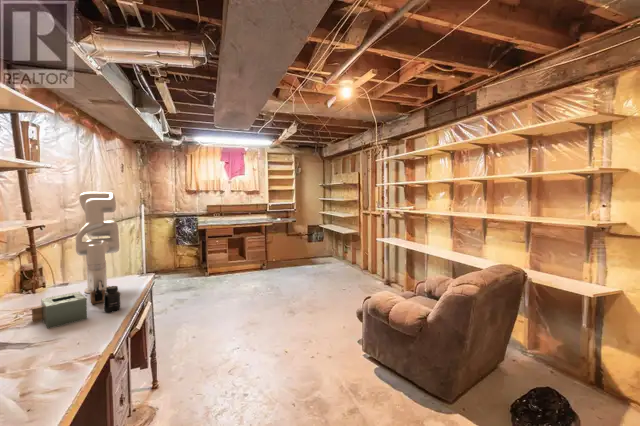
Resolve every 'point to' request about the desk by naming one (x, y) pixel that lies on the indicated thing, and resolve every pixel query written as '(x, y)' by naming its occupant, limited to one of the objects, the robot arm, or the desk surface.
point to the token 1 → (37, 313)
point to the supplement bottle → (111, 299)
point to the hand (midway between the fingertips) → (98, 299)
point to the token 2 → (92, 296)
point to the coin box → (63, 309)
